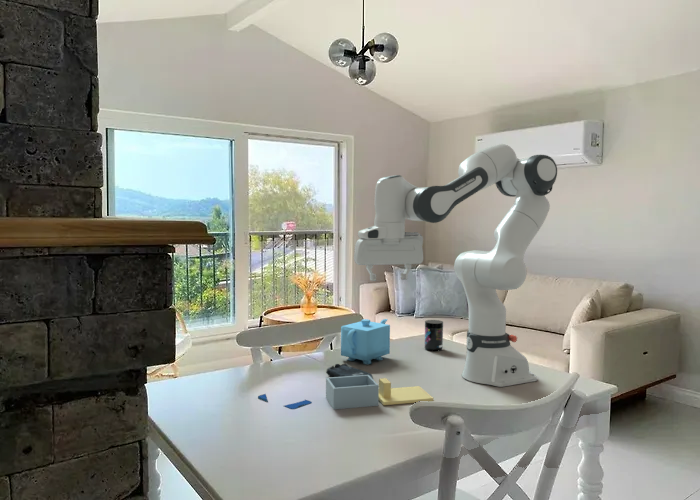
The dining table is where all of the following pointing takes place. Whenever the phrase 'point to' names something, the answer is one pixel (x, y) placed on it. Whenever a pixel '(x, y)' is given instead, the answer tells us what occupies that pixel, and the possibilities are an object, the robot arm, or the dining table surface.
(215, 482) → the dining table surface
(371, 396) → the tub
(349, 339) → the teapot
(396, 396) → the lid
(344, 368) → the electronic device
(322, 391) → the dining table surface
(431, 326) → the supplement container
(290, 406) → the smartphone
